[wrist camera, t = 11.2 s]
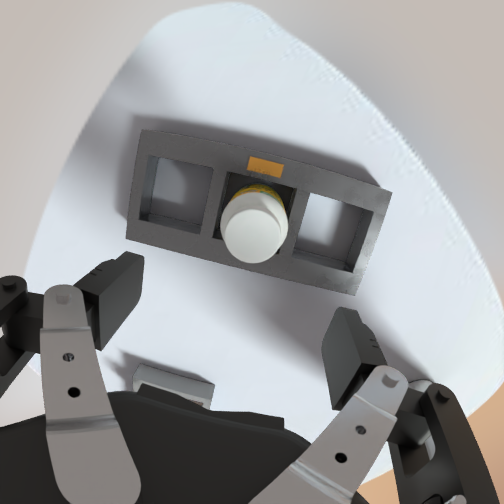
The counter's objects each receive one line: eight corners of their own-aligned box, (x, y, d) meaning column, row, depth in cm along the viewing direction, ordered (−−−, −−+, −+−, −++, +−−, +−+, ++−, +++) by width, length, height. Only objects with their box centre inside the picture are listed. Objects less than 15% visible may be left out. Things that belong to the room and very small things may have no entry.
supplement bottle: (225, 228, 31) (207, 263, 22) (236, 177, 29) (220, 191, 20) (277, 239, 31) (279, 279, 22) (289, 189, 29) (299, 208, 20)
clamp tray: (215, 384, 38) (211, 400, 36) (199, 448, 45) (196, 461, 42) (140, 363, 38) (132, 377, 35) (141, 432, 45) (136, 443, 42)
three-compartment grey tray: (381, 187, 28) (393, 192, 25) (348, 283, 32) (355, 296, 29) (153, 130, 28) (140, 129, 25) (137, 230, 31) (124, 239, 28)
